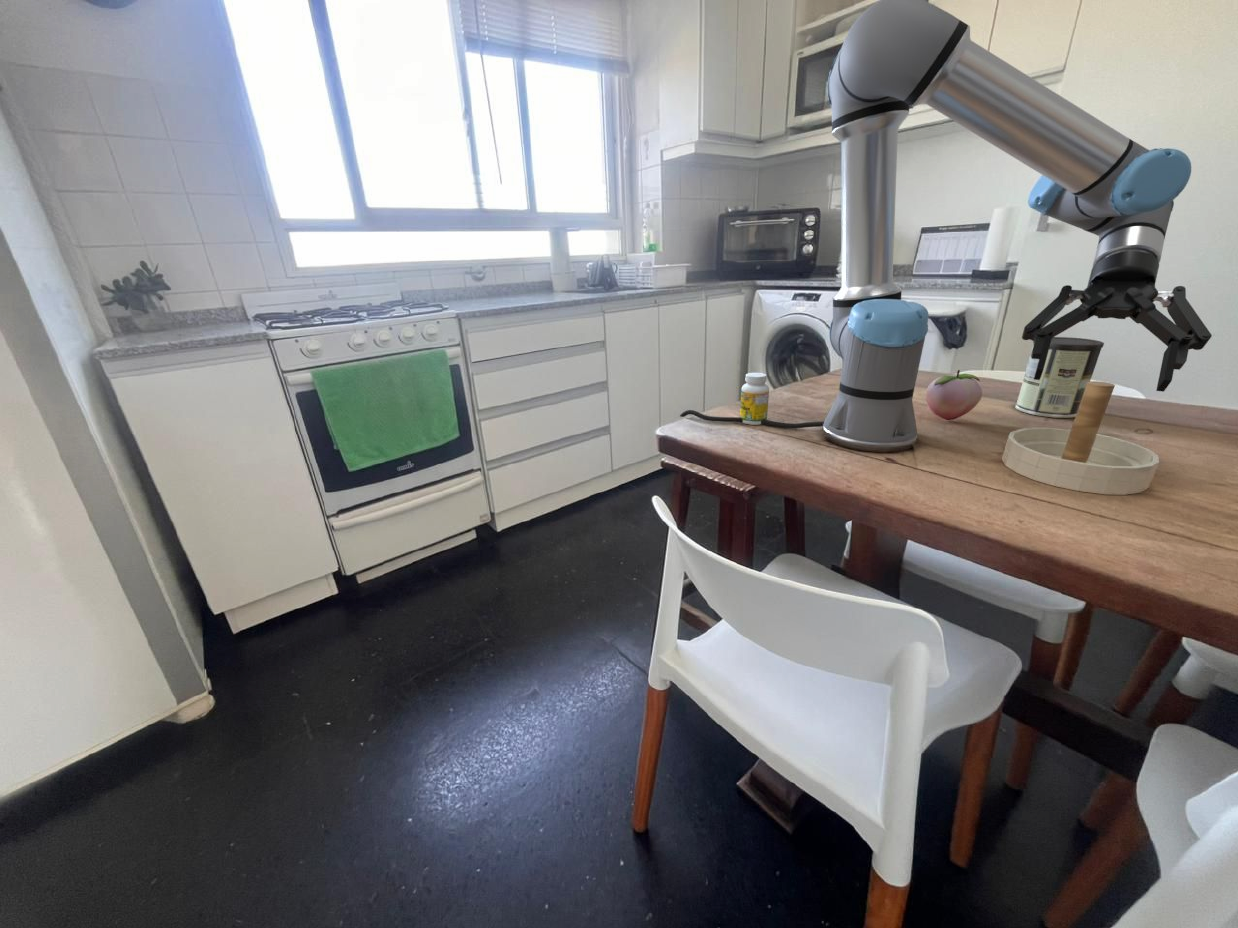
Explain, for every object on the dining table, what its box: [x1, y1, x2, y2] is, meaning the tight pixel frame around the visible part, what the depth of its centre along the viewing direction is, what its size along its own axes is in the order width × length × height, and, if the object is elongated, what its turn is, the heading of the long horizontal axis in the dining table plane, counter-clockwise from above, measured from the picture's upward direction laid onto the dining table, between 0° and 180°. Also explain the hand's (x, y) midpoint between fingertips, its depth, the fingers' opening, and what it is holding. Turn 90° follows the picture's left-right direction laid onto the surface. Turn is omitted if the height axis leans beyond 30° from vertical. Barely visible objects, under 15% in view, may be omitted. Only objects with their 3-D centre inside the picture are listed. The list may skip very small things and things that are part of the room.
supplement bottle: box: [739, 372, 770, 426], centre depth 98 cm, size 5×5×10 cm
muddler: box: [1061, 380, 1116, 464], centre depth 70 cm, size 5×5×13 cm
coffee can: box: [1014, 336, 1105, 419], centre depth 98 cm, size 10×10×14 cm
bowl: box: [1001, 427, 1160, 496], centre depth 72 cm, size 16×16×4 cm
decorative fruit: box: [925, 369, 983, 421], centre depth 95 cm, size 9×8×10 cm
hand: (1097, 380), depth 72 cm, fingers open, 13 cm apart
